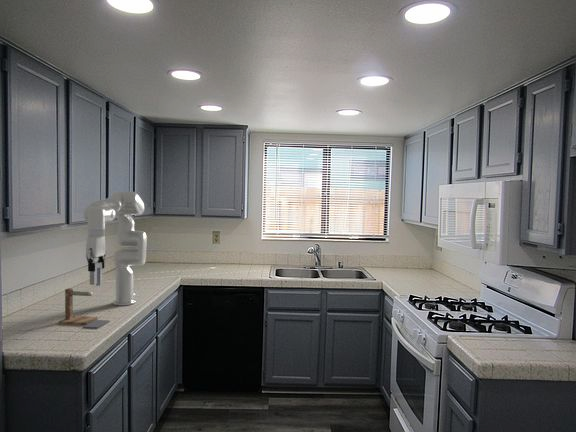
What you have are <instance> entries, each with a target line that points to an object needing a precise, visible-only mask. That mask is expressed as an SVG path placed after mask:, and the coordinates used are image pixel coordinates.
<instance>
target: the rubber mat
mask: <svg viewBox="0 0 576 432" xmlns="http://www.w3.org/2000/svg"><path fill="white" fill-rule="evenodd" d="M108 323H110V320H107V319H106V320H105V319H104V320H103V319H97V320H94V321H92V322H90V323H88V324H87V325H82V329H100V328H102V327H103V326H105V325H107V324H108Z"/></svg>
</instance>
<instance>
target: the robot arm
mask: <svg viewBox="0 0 576 432" xmlns="http://www.w3.org/2000/svg"><path fill="white" fill-rule="evenodd" d="M144 212H145V203H144V201H143V200H142V198H141V197H140V195H139V194H138V193H137V192H136V191H129V190H128V191H125V190H120V191H119V190H118V191H115V192H113V193H112V194H111V195H110V196H108V197H107V198H105V199H100V200H97V201H93V202H91V203H90V204H88V205H87V206H86V207H85V209H84V210H83V218H84V219H85V221H86V222H87V238H86V245H85V246H86V247H85V258H86V261H87V264H88V265H87V271H88V272H90V271H92V272H94V271H95V263H96V262H95V261H96V258H98V260H97V262H103V269H105V260H106V256H107V255H106V254H107V249H106V238H105V236H106V223H110V222H113V221H114V220H115V218H116V217H117V221H118V233H117V234H118V236H117V242H118V245H119V246H120V247H123V248H122V249H121V248H120V249H118V250H116V251H115V252H114V254H113V261H114V266H115V300H113V301H112V304H113V305H114V306H122V307H123V306H131V305H134V304H136V303H137V299H134V297H136V293H135V292H134V272H133V269H132V268H131V266H137V267H138V266H141V267H142V266H144V265H145V263H146V261H147V248H148V247H147V246H148V244H147V243H148V236H147V234H146V232H145V231H143V230H135V221H134V219H133V217H132V216H131V215H133V216H140V215H142V214H144ZM125 247H127V248H125ZM136 248H137V249H136Z"/></svg>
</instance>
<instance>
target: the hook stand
mask: <svg viewBox="0 0 576 432" xmlns="http://www.w3.org/2000/svg"><path fill="white" fill-rule="evenodd" d="M73 296H81V297H92V296H93V292H92V291H78V290H77V291H74V288H66V289H65V290H64V297H65V298H64V302H65V303H64V309H65V310H64V314H65V315H64V317H65V318H63V319H61V320H59V321H58V325H73V326H74V325H75V326H76V325H77V326H85V325H87V324H88V323H90V322H92V321H94V320H99V319H98V316H87V315H86V316H85V315H74V313H73V312H74V311H73V310H74V309H73V307H74V305H73V303H74V299H73Z"/></svg>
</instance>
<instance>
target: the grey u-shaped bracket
mask: <svg viewBox="0 0 576 432" xmlns="http://www.w3.org/2000/svg"><path fill="white" fill-rule="evenodd" d="M94 263H95V271H94V272H92V271H89V285H90V286H92V285H95V286H99V287H100V286H103V283H104V282H103V278H104V277H103V274H104V270H103V262H98V261H97V262H94Z"/></svg>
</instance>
